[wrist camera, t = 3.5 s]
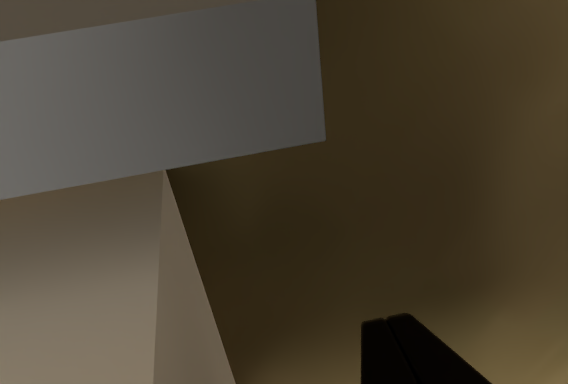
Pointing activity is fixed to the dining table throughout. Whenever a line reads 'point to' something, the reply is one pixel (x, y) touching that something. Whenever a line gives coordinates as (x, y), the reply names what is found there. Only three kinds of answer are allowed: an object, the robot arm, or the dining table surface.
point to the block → (104, 289)
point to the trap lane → (151, 86)
